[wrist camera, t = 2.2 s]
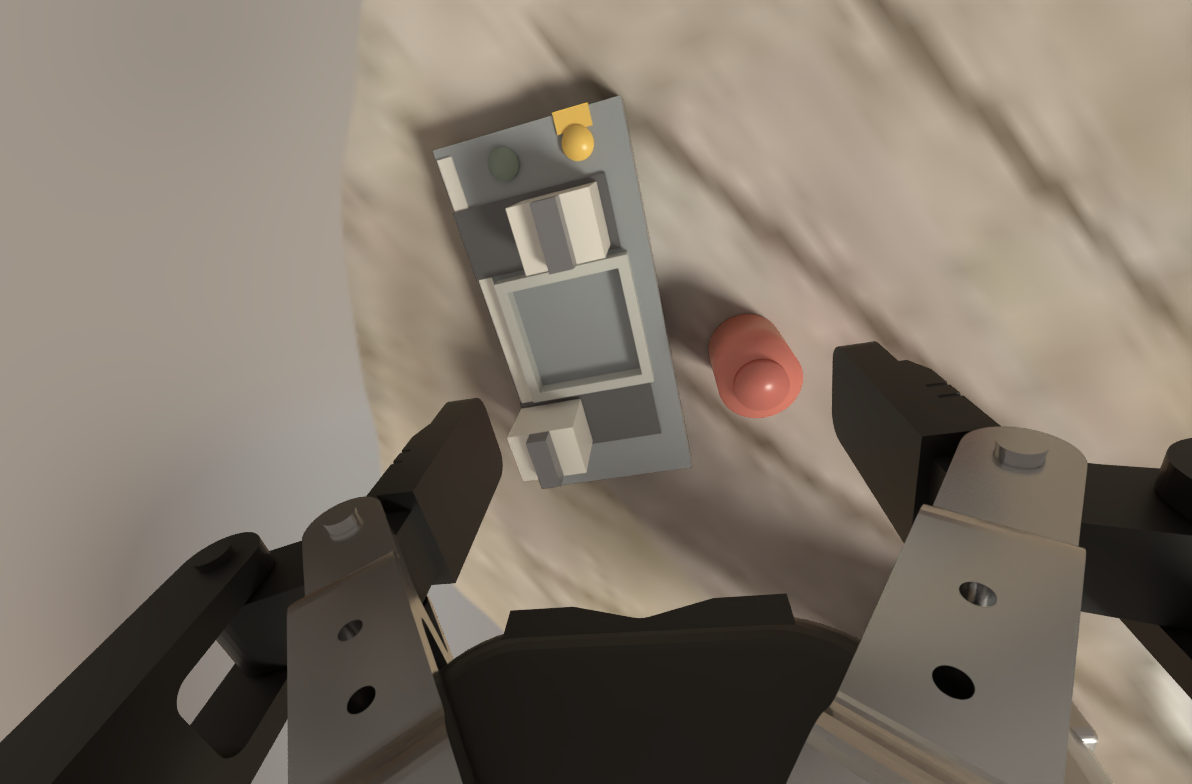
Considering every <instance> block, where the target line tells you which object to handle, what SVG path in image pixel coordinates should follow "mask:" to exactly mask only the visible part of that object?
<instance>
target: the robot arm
mask: <svg viewBox="0 0 1192 784" xmlns="http://www.w3.org/2000/svg"><path fill="white" fill-rule="evenodd" d="M832 418H833V424H834V429H835V432H836V435H837V437H838V439H839V441H840V443H841V444H842V446H843V447H844V449H845V451H846V452H847V454H848V455H849V457H850V458H851V460H852V462H853V463H854V465H855V466H856V468H857V470H858V471H859V473H860V474H861V476H862V477H863V479H864V481H865V482H866V484H867V485H868V487H869V489H870V490H871V492H872V493H873V495H874V496H875V498H876V500H877V501H878V503H879V504H880V506H881V508H882V509H883V511H884V512H885V514H886V515H887V517H888V519H889V520H890V522H891V523H892V525H893V527H894V528H895V530H896V531H897V533H898V534H899V536H900V538H901V539H902V541H903V542H904V546H903V548H902V550H901V553H900V555H899V557H898V559H897V561H896V564H895V566H894V568H893V570H892V573H891V575H890V577H889V579H888V582H887V584H886V586H885V588H884V590H883V593H882V595H881V597H880V599H879V602H878V604H877V606H876V608H875V610H874V613H873V615H872V617H871V619H870V622H869V624H868V626H867V628H866V630H865V633H864V635H863V637H862V639H861V640H860V639H858V638H856V637H854V636H852V635H850V634H848V633H846V632H843V631H840V630H838V629H835V628H832V627H830V626H827V625H824V624H820V623H817V622H813V621H809V620H805V619H800V618H795V617H793V614H792V610H791V607H790V604H789V600H788V597H787V594H773V595H757V596H740V597H724V598H712V599H709V600H705V601H702V602H699V603H695V604H692V605H688V606H685V607H681V608H678V609H675V610H671V611H668V612H664V613H661V614H657V615H654V616H651V617H646V618H632V617H627V616H621V615H616V614H610V613H605V612H599V611H594V610H588V609H583V608H577V607H563V608H547V609H531V610H514V611H510V614H509V618H508V621H507V625H506V628H505V632H504V634H502V635H499V636H496V637H494V638H491V639H489V640H486V641H484V642H482V643H480V644H478V645H476V646H474V647H472V648H471V649H469V650H467V651H465V652H464V653H462V654H461V655H459V656H458V657H456V658H455V659H453V656H452V654H451V651H450V649H449V646H448V643H447V641H446V638H445V636H444V633H443V631H442V628H441V625H440V623H439V620H438V617H437V615H436V612H435V610H434V607H433V605H432V603H431V601H430V599H429V597H428V595H427V593H428V591H429V589H430V587H431V585H437V584H451V583H456V581H457V578H458V576H459V574H460V571H461V569H462V567H463V564H464V562H465V560H466V557H467V555H468V553H469V550H470V548H471V546H472V543H473V541H474V539H475V536H476V534H477V532H478V529H479V527H480V525H481V522H482V520H483V518H484V515H485V513H486V511H487V508H488V506H489V504H490V501H491V499H492V497H493V494H494V492H495V490H496V487H497V485H498V483H499V480H500V478H501V475H502V468H503V463H502V455H501V451H500V448H499V445H498V443H497V440H496V437H495V434H494V431H493V428H492V425H491V422H490V420H489V417H488V414H487V411H486V408H485V406H484V404H483V402H482V401H481V400H480V399H479V398H473V399H466V400H459V401H452V402H447V403H446V404H445V405H444V407H443V408H442V409H441V410H440V412H439V413H438V414H437V416H436V417H435V418H434V420H433V421H432V422H431V424H429V425H428V426H427V427H425V428H424V429H423V430H421V431H420V432H419V433H417V434H416V435H415V436H413V437H412V438H411V440H410V441H409V442H408V443H407V445H406V446H405V447H404V449H403V450H402V453H400V454H399V455H398V456H397V457H396V459H395V460H394V461H393V463H394V464H392V465H390V466H389V468H388V469H387V470H386V472H385V473H384V474H383V475H382V477H381V478H380V479H379V481H378V482H377V483H376V485H375V486H374V487H373V488H372V490H371V491H370V492H369V493H368V495H367V496H366V497H358V498H354V499H350V500H347V501H345V502H342V503H340V504H338V505H336V506H334V507H332V508H330V509H329V510H327V511H326V512H324V513H322V514H321V515H320V516H319V517H317V518H316V519H315V520H314V521H313V522H312V523H311V524H310V525H309V526H308V528H307V529H306V531H305V532H304V534H303V537H302V541H299V542H296V543H293V544H290V545H287V546H284V547H281V548H278V549H274V550H271V551H269V550H268V549H267V547H266V546H265V545H264V543H263V542H262V540H261V538H260V537H259V536H258V535H257V534H256V533H253V532H244V533H239V534H235V535H231V536H229V537H226V538H223V539H221V540H219V541H217V542H215V543H213V544H211V545H209V546H207V547H206V548H204V549H202V550H201V551H199V552H198V553H197V554H195V555H194V556H192V557H191V558H190V559H189V560H187V561H186V562H185V563H184V564H183V565H182V566H181V567H180V568H179V569H178V570H177V571H176V572H175V573H174V574H173V575H172V576H170V577H169V578H168V579H167V580H166V581H165V582H164V583H163V584H162V585H161V586H160V587H159V588H158V589H157V590H156V591H155V592H154V593H153V594H152V595H151V596H150V597H149V598H148V599H147V600H146V601H145V602H144V603H143V604H142V605H141V606H140V607H139V608H138V609H137V610H136V611H135V612H134V613H133V614H132V615H131V616H130V617H129V618H127V619H126V620H125V621H124V622H123V623H122V624H121V625H120V626H119V627H118V628H117V629H116V630H115V631H114V632H113V633H112V634H111V635H110V636H109V637H108V638H107V639H106V640H105V641H104V642H103V643H102V644H101V645H100V646H99V647H98V648H97V649H96V650H95V651H94V652H93V653H92V654H91V655H89V656H88V658H86V660H84V661H83V662H82V663H81V664H80V665H79V666H78V667H77V668H76V669H75V670H74V671H73V672H72V673H71V674H70V675H69V676H68V677H67V678H66V679H65V680H64V681H63V682H62V683H61V684H60V685H59V686H58V687H57V688H56V689H55V690H54V691H53V692H52V693H51V694H50V695H49V696H47V697H46V698H45V699H44V701H42V702H41V703H40V704H39V705H38V706H37V707H36V708H35V709H34V710H33V711H32V712H31V713H30V714H29V715H28V716H27V717H26V718H25V719H24V720H23V721H22V722H21V723H20V724H19V725H18V726H17V727H16V728H15V729H14V730H13V731H12V732H11V733H10V734H9V735H7V736H6V737H5V738H4V739H3V741H1V742H0V784H251V782H252V780H253V779H254V777H255V775H256V773H257V772H258V770H259V768H260V766H261V765H262V763H263V761H264V759H265V757H266V756H267V754H268V752H269V750H270V749H271V747H272V745H273V743H274V742H275V740H276V738H277V736H278V734H279V733H280V731H281V729H282V728H283V726H284V724H285V722H286V720H287V719H288V784H1115V782H1114V781H1113V779H1112V778H1111V777H1110V775H1109V774H1108V772H1107V771H1106V770H1105V768H1104V767H1103V766H1102V764H1101V763H1100V761H1099V760H1098V759H1097V757H1096V756H1095V755H1094V753H1093V752H1094V749H1095V747H1096V744H1097V741H1098V737H1097V734H1096V732H1095V730H1094V729H1093V727H1092V726H1091V724H1090V723H1089V722H1088V721H1087V719H1086V718H1085V717H1084V715H1083V714H1082V713H1081V711H1080V710H1079V709H1078V707H1077V706H1076V705H1075V703H1074V702H1073V701H1072V694H1073V684H1074V674H1075V664H1076V653H1077V643H1078V633H1079V623H1080V612H1081V611H1082V612H1087V613H1093V614H1099V615H1104V616H1110V617H1115V618H1120V620H1121V621H1122V622H1123V623H1124V624H1125V625H1126V626H1127V628H1128V629H1129V630H1130V631H1131V632H1132V633H1133V634H1134V635H1135V637H1136V638H1137V639H1138V640H1139V641H1140V642H1141V643H1142V644H1143V645H1144V647H1145V648H1146V649H1147V650H1148V651H1149V652H1150V653H1151V654H1152V656H1153V657H1154V658H1155V659H1156V660H1157V661H1158V662H1159V663H1160V664H1161V666H1162V667H1163V668H1164V669H1165V670H1166V671H1167V672H1168V673H1169V675H1170V676H1171V677H1172V678H1173V679H1174V680H1175V681H1176V682H1177V683H1178V685H1179V686H1180V687H1181V688H1182V689H1183V690H1184V691H1185V692H1186V694H1187V695H1188V696H1189V697H1190V698H1191V699H1192V438H1189V439H1184V440H1180V441H1178V442H1176V443H1174V444H1172V445H1171V446H1170V447H1169V448H1168V450H1167V452H1166V455H1165V458H1164V460H1163V463H1162V465H1161V468H1160V469H1157V468H1143V467H1130V466H1116V465H1102V464H1092V463H1087V460H1086V458H1085V456H1084V455H1083V454H1082V452H1081V451H1080V450H1078V449H1077V448H1076V447H1075V446H1073V445H1072V444H1070V443H1068V442H1066V441H1064V440H1062V439H1060V438H1058V437H1055V436H1053V435H1050V434H1047V433H1043V432H1040V431H1036V430H1031V429H1026V428H1019V427H1006V426H1002V427H1001V426H1000V425H999V424H998V423H996V422H995V421H994V420H993V419H991V418H990V417H989V416H988V415H987V414H985V413H984V412H983V411H982V410H980V409H979V408H978V407H977V406H976V405H974V404H973V403H972V402H971V401H969V400H968V399H967V398H966V397H965V396H960V392H958V391H957V390H956V389H955V388H954V387H952V386H951V385H947V382H946V381H945V380H944V379H943V378H941V377H940V376H939V375H938V374H937V373H935V372H934V371H933V370H932V369H929V368H927V367H924V366H921V365H919V364H916V363H914V362H911V361H908V360H903V361H898V360H897V359H896V358H894V357H893V356H892V355H891V354H890V353H889V352H888V351H887V350H886V349H884V348H883V347H882V346H881V345H880V344H879V343H877V342H875V341H874V342H867V343H860V344H853V345H846V346H839V347H836V348H835V350H834V353H833V375H832ZM215 640H217V642H218V643H219V644H220V645H221V647H222V648H223V649H224V650H225V651H226V653H227V654H228V655H229V656H230V657H231V659H232V660H233V661H234V662H235V664H234V666H233V667H232V669H231V670H230V671H229V673H228V674H227V676H226V677H225V678H224V680H223V681H222V682H221V684H220V685H219V686H218V688H217V689H216V691H215V692H214V693H213V695H212V696H211V697H210V699H209V700H208V702H207V703H206V705H205V706H204V707H203V708H202V710H201V711H200V713H199V714H198V716H197V717H196V718H195V719H194V721H193V722H192V724H191V725H189V724H188V723H187V722H186V721H185V720H184V719H183V718H182V717H181V716H180V715H179V712H178V710H177V695H178V692H179V688H180V686H181V684H182V682H183V680H184V679H185V678H186V676H187V675H188V674H189V673H190V671H191V670H192V669H193V668H194V666H195V665H196V664H197V663H198V661H199V660H200V659H201V658H202V656H203V655H204V654H205V653H206V651H207V650H208V649H209V648H210V646H211V645H212V644H213V643H214V641H215Z"/></svg>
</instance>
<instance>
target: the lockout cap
mask: <svg viewBox="0 0 1192 784" xmlns="http://www.w3.org/2000/svg"><path fill="white" fill-rule="evenodd" d="M709 357H710V361H711V365H712V368H713V372H714V376H715V379H716V383H717V387H718V391H719V394H720V397H721V399H722V401H723V402H724V404H725V405H726V406H727V407H728V408H729V409H730V410H732V411H733V412H735V413H737V414H739V415H741V416H744V417H749V418H764V417H769V416H772V415H775V414H777V413H779V412H781V411H783V410H784V409H786V408H787V407H788V406H789V405H791V404H792V403H793V401H794V400H795V399H796V398H797V396H798V394H799V392H800V390H801V387H802V383H803V372H802V368H801V365H800V363H799V361H798V360H797V358H796V357H795V355H794V354H793V352H792V351H791V349H790V348H789V346H788V345H787V343H786V342H785V340H784V339H783V337H782V336H781V334H780V333H779V331H778V330H777V329H776V327H775V326H774V325H773V324H772V323H771V322H770V321H769V320H768V319H766V318H764V317H762V316H759V315H754V314H742V315H737V316H734V317H732V318H729V319H728V320H726V321H724V322H723V323H722V324H721V325H719V326H718V328H717V329H716V330H715V331H714V333H713V335H712V337H711V339H710V342H709Z"/></svg>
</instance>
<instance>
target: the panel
mask: <svg viewBox="0 0 1192 784" xmlns="http://www.w3.org/2000/svg"><path fill="white" fill-rule="evenodd" d="M433 154H434V156H435V159H436V162H437V165H438V168H439V171H440V174H441V176H442V179H443V182H444V185H445V188H446V191H447V193H448V196H449V199H450V202H451V205H452V208H453V211H454V212H453V215H454V218H455V221H456V223H457V226H458V229H459V232H460V235H461V238H462V240H463V243H464V246H465V249H466V252H467V255H468V257H469V260H470V263H471V266H472V269H473V272H474V274H475V277H476V280H477V281H478V282H479V285H480V288H481V290H482V293H483V296H484V299H485V302H486V305H487V308H488V310H489V313H490V316H491V319H492V322H493V325H494V327H495V330H496V333H497V336H498V339H499V342H500V345H501V347H502V350H503V353H504V356H505V359H506V362H507V365H508V367H509V370H510V373H511V376H512V379H513V382H514V385H515V387H516V390H517V393H518V396H519V399H520V402H521V403H520V405H521V408H522V409H523V408H529V407H534V406H540V405H546V404H552V403H558V402H563V401H569V400H575V399H581V402H582V405H583V409H584V412H585V416H586V419H587V423H588V426H589V430H590V433H591V436H592V440H593V442H592V447H591V452H590V457H589V462H588V467H587V473H581V474H574V475H567V476H564V478H563V482H562V485H567V484H574V483H582V482H589V481H596V480H603V479H611V478H618V477H625V476H632V475H640V474H647V473H654V472H661V471H669V470H676V469H683V468H691V467H692V463H691V455H690V448H689V443H688V438H687V433H686V427H685V422H684V417H683V412H682V406H681V401H680V396H679V391H678V385H677V380H676V375H675V370H674V365H673V359H672V354H671V349H670V344H669V338H668V333H667V328H666V323H665V317H664V312H663V307H662V302H661V296H660V291H659V286H658V281H657V276H656V270H655V265H654V260H653V255H652V249H651V244H650V239H649V234H648V228H647V223H646V218H645V213H644V207H643V202H642V197H641V192H640V187H639V181H638V176H637V171H636V166H635V160H634V155H633V150H632V145H631V139H630V134H629V129H628V124H627V118H626V113H625V108H624V103H623V98H622V97H621V95H619V96H616V97H613V98H609V99H606V100H602V101H599V102H596V103H592V104H589V105H588V102H586V103H583V104H579V105H576V106H573V107H569V108H566V109H563V110H559V111H556V112H552V116H548V117H545V118H542V119H538V120H535V121H531V122H528V123H525V124H521V125H518V126H514V127H511V128H508V129H504V130H501V131H498V132H494V133H491V134H487V135H484V136H481V137H477V138H474V139H471V140H467V141H464V142H460V143H457V144H454V145H450V146H447V147H443V148H440V149H437V150H433ZM592 182H597V186H598V190H599V195H600V199H601V204H602V208H603V213H604V217H605V222H606V226H607V230H608V235H609V239H610V247H609V249H608V252H607V254H606V257H605V258H602V259H598V260H593V261H589V262H585V263H580V264H577V265H576V266H575V268H574V269H572V270H568V271H563V272H559V273H555V274H550V275H549V272H548V271H545V272H541V273H537V274H532V275H528V276H526V274H525V271H524V267H523V264H522V261H521V258H520V254H519V251H518V248H517V245H516V241H515V238H514V235H513V232H512V228H511V225H510V222H509V219H508V215H507V212H506V208H508V207H510V206H512V205H514V204H517V203H519V202H521V201H523V200H527V199H531V198H535V197H538V196H542V195H546V194H550V193H554V192H558V191H561V190H565V189H569V188H573V187H577V186H580V185H584V184H588V183H592Z"/></svg>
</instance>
